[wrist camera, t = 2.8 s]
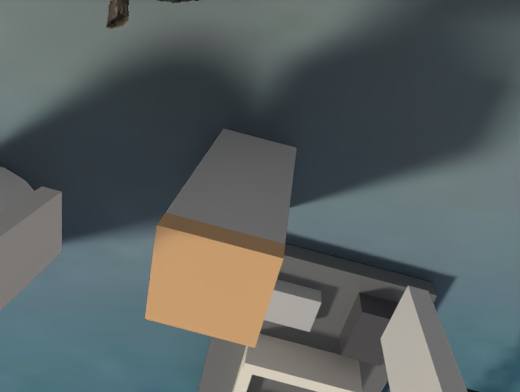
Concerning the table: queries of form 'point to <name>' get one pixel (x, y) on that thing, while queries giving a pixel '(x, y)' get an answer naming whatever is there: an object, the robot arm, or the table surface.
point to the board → (315, 330)
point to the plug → (224, 240)
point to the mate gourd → (123, 12)
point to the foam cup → (12, 189)
